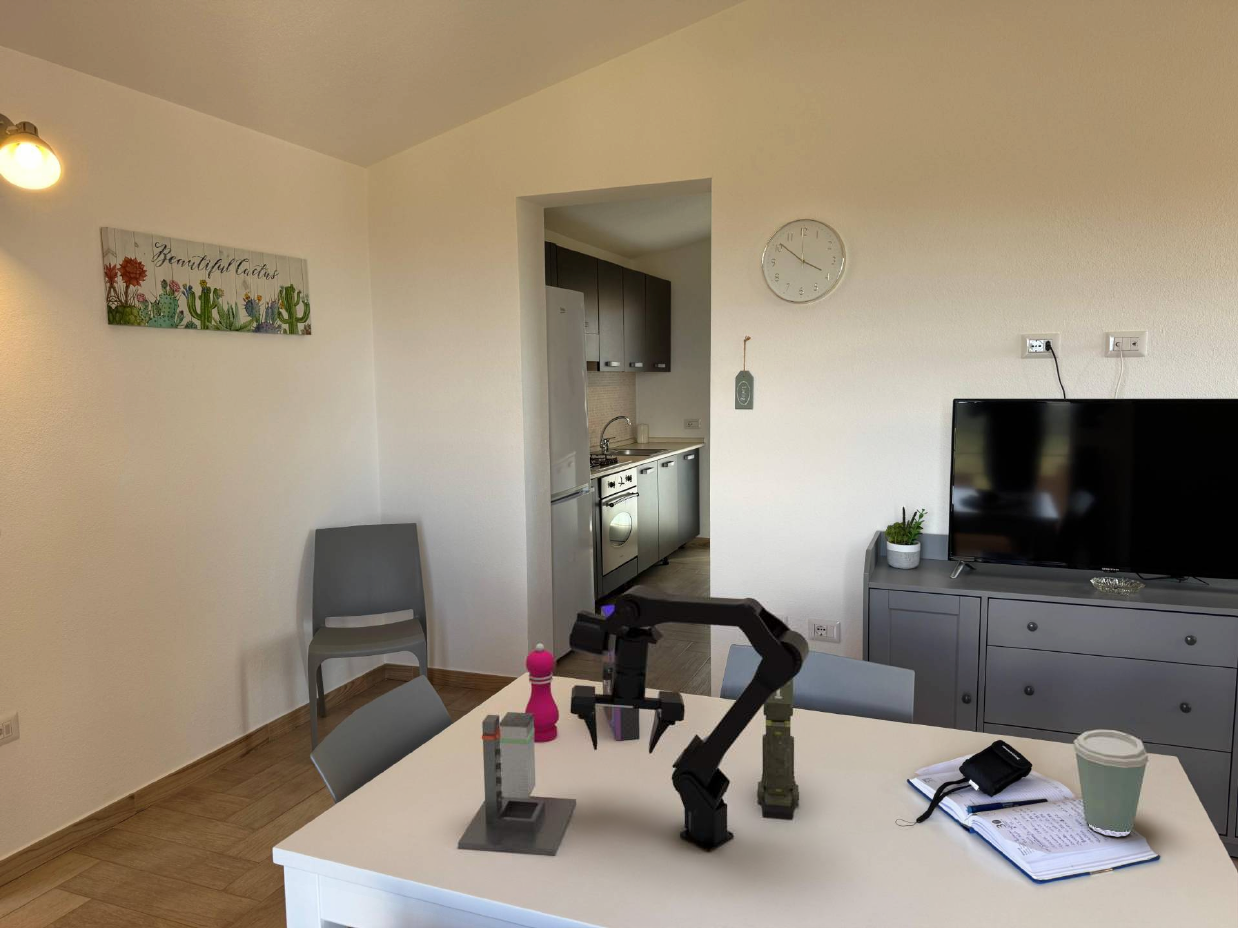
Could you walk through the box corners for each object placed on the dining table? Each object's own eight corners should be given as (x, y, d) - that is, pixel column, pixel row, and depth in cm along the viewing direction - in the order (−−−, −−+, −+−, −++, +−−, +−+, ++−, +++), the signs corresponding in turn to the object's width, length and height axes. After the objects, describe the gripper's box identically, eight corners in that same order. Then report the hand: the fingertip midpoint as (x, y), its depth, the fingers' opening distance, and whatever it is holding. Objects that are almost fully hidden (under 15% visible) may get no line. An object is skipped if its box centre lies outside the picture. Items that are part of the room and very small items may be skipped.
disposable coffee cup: (1113, 851, 131) (1117, 759, 129) (1054, 818, 141) (1057, 732, 139) (1160, 836, 135) (1164, 746, 133) (1099, 805, 145) (1103, 721, 143)
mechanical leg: (799, 826, 138) (800, 640, 142) (755, 822, 139) (756, 638, 143) (798, 804, 151) (799, 635, 155) (758, 801, 153) (759, 633, 157)
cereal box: (603, 708, 190) (601, 605, 188) (623, 707, 191) (622, 604, 189) (616, 741, 173) (614, 628, 171) (639, 739, 174) (637, 626, 172)
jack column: (535, 784, 143) (533, 713, 141) (528, 798, 138) (526, 724, 137) (509, 783, 143) (507, 711, 142) (501, 796, 139) (499, 722, 138)
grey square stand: (576, 804, 148) (574, 703, 146) (555, 855, 132) (552, 742, 130) (489, 798, 151) (485, 699, 149) (458, 848, 135) (454, 737, 133)
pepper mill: (520, 732, 178) (517, 641, 176) (552, 726, 181) (550, 636, 179) (531, 745, 172) (528, 651, 170) (564, 739, 175) (562, 645, 173)
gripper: (681, 648, 147) (673, 731, 149) (575, 640, 146) (568, 724, 148) (689, 673, 136) (679, 763, 138) (574, 665, 135) (566, 756, 137)
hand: (622, 750), depth 141 cm, fingers open, 9 cm apart
